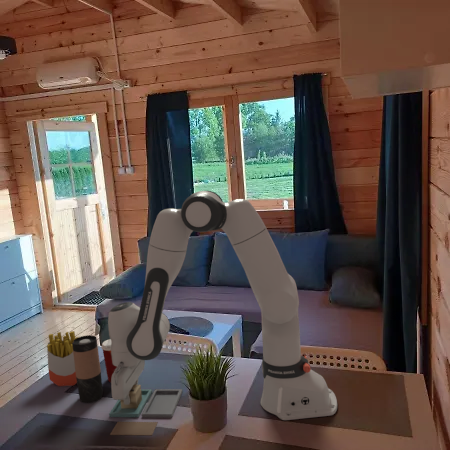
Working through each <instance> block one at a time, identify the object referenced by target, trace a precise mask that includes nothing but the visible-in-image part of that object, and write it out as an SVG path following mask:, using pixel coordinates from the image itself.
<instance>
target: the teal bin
mask: <svg viewBox="0 0 450 450" xmlns="http://www.w3.org/2000/svg"><path fill="white" fill-rule="evenodd" d="M141 394H142V401H141V402H140V404H139V406H138V408H137V409H131V408H121V401H120V400H116V403H115V404H114V406H113V407H112V409H111V410H110V411H109V413H108V415H109V418H140V416H141V415H142V413H143V411H144V409H145V407H146V405H147V403H148V401H149V400H150V398H151V396H152V394H153V389H151V388H150V389H144V388H141Z"/></svg>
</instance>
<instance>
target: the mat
mask: <svg viewBox="0 0 450 450" xmlns="http://www.w3.org/2000/svg"><path fill="white" fill-rule="evenodd" d="M158 424H159V422H158V421H117V422H116V423H115V425H114V427H113V429H112V430H111V432H110V434H109V436H148V437H149V436H153V435H154V432H155V430H156V427H157V425H158Z"/></svg>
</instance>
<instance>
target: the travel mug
mask: <svg viewBox="0 0 450 450" xmlns="http://www.w3.org/2000/svg"><path fill="white" fill-rule="evenodd" d="M75 338H76V337H75ZM72 346H73V355H74V363H75V372H76V379H77V383H76V384H77V390H78V397H79V401H80V402H81V403H83V404H92V403H95V402H98V401H100V399H102V398H103V393H104V392H103V382H102V381H103V380H102V371H101V370H102V369H101V363H100V355H99V346H98V339H97V336H95V335H92V334H91V335H90V334H89V335H81V336H78V338H76V339H74V342H73V343H72Z"/></svg>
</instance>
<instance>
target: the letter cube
mask: <svg viewBox="0 0 450 450" xmlns="http://www.w3.org/2000/svg"><path fill="white" fill-rule="evenodd" d="M141 386H142V385H141V384H138V385H133V387H132V388H131V390H130V391H129V397H131V402H130V404H129V405H125V404H124V400H120V401H121V408H131V409H137V408H138V406H139V404H140V402H141V401H142V394H141V389H142V387H141Z"/></svg>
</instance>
